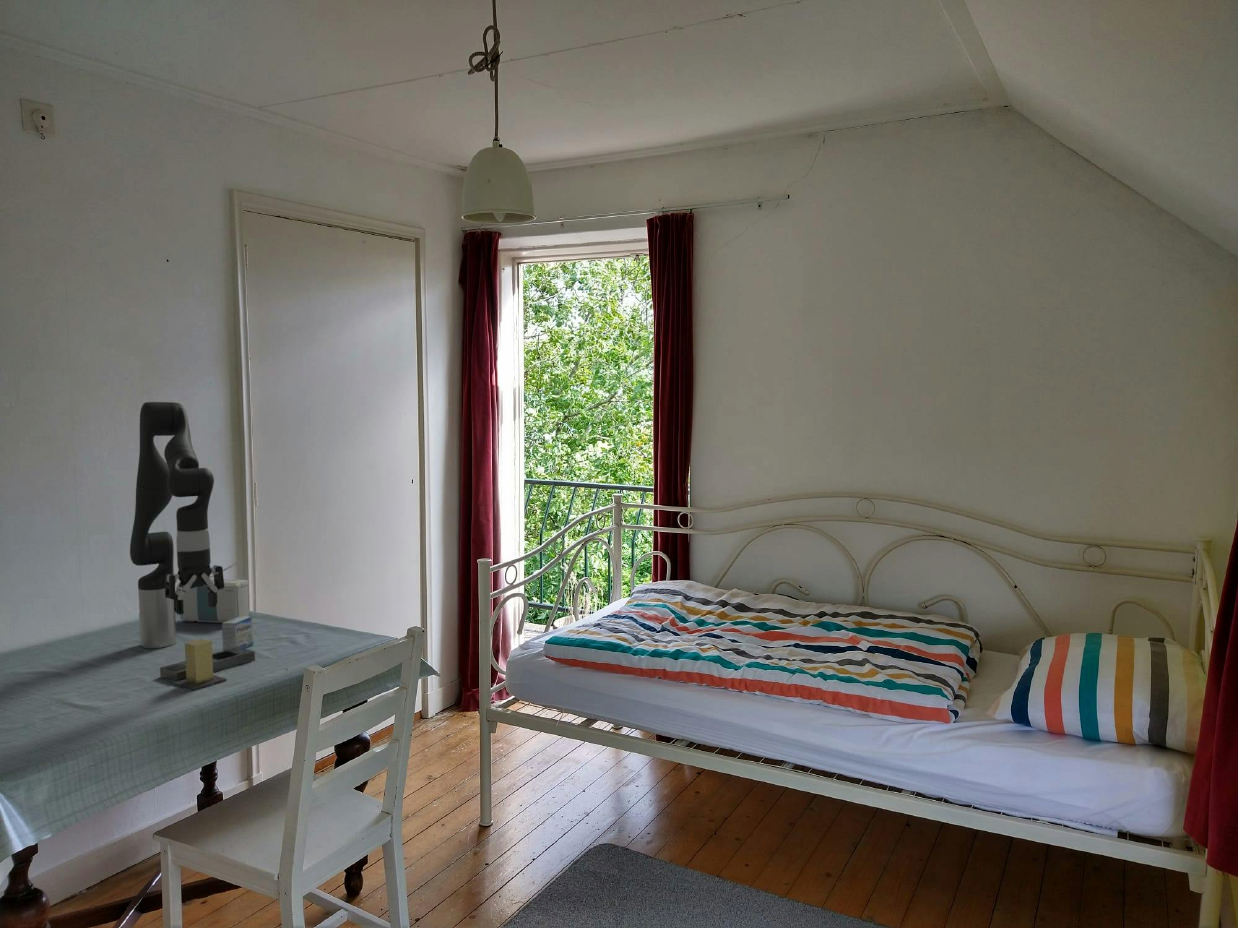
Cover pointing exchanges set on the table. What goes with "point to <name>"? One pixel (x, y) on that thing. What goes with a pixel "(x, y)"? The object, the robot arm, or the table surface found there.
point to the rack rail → (219, 663)
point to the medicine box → (237, 633)
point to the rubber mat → (194, 687)
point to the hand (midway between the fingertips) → (196, 610)
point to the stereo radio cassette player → (228, 602)
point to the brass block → (199, 661)
